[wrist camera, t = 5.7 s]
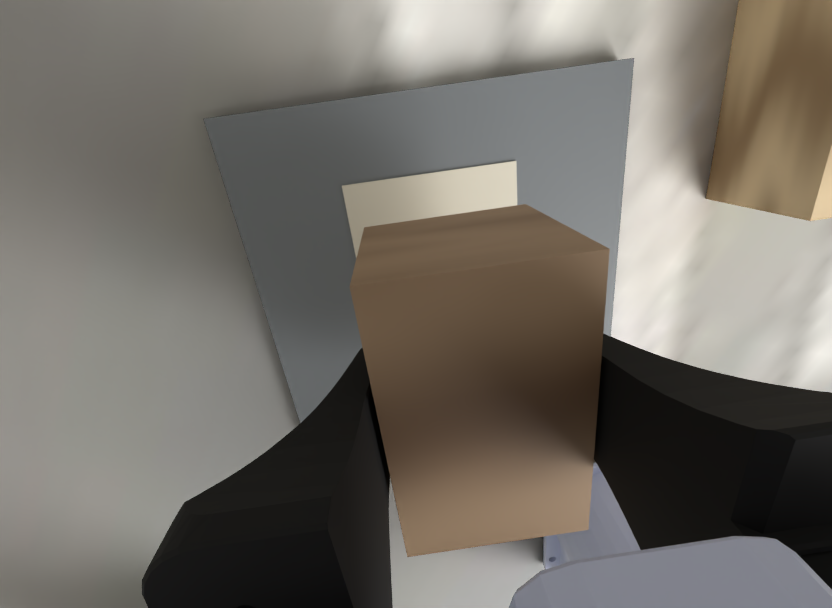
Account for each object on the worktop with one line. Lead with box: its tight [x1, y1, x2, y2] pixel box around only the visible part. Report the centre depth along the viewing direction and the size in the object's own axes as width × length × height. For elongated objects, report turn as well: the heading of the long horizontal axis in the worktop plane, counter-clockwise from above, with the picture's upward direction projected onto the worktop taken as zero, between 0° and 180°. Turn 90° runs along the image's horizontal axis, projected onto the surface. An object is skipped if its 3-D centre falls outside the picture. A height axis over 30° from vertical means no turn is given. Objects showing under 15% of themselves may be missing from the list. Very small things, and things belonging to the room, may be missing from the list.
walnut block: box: [350, 204, 610, 557], centre depth 11 cm, size 8×5×5 cm, turn 7°
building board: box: [204, 58, 634, 423], centre depth 18 cm, size 16×16×1 cm
